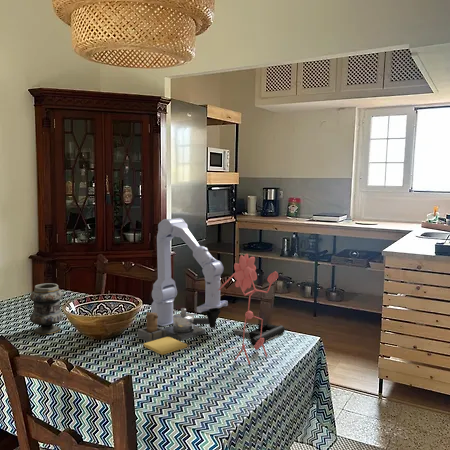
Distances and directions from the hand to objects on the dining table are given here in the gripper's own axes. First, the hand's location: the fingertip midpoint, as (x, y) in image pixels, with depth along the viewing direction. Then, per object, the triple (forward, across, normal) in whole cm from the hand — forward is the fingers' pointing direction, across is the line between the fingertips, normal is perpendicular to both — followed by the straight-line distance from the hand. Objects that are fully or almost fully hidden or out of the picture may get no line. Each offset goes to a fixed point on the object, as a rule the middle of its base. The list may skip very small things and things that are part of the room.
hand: (212, 327), depth 173 cm
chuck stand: (+3, -7, +9) cm, 12 cm away
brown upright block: (+3, -19, +13) cm, 23 cm away
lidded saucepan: (+1, -4, +6) cm, 7 cm away
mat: (+3, -21, +2) cm, 21 cm away
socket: (+3, -19, +13) cm, 23 cm away
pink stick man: (+3, -6, -22) cm, 23 cm away
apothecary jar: (+3, -45, +46) cm, 64 cm away
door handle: (+3, +12, -12) cm, 18 cm away
